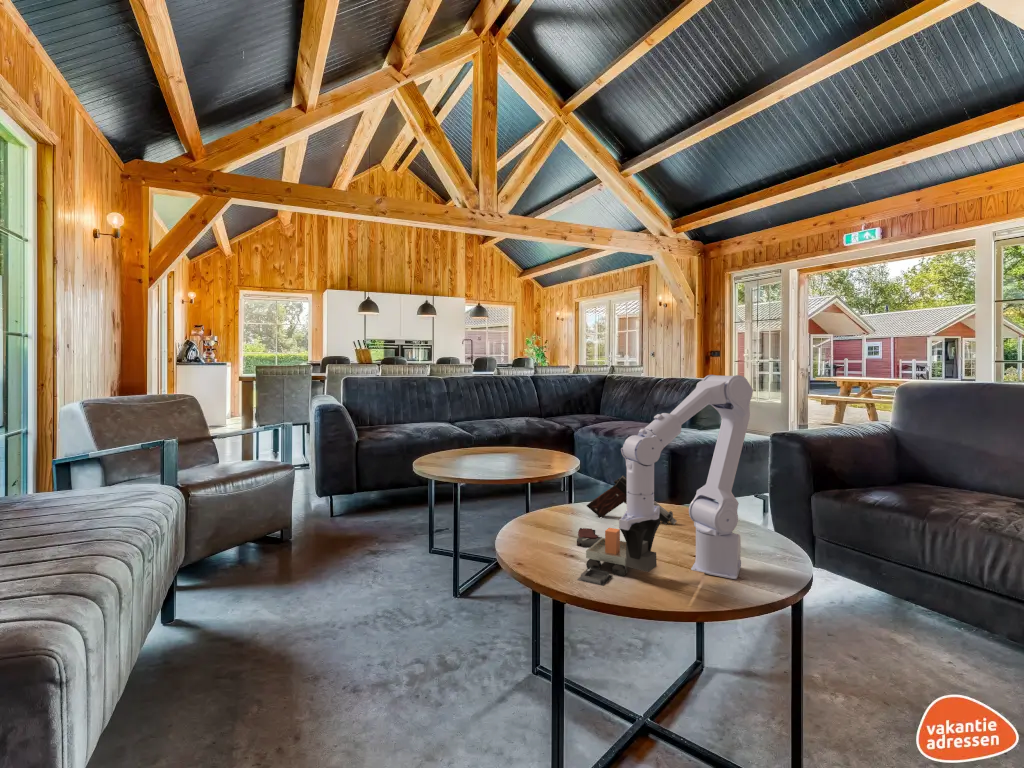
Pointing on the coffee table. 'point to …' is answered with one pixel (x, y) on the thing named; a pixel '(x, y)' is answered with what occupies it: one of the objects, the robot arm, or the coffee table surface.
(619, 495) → the handgun
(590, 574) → the socket
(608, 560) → the trolley
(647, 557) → the block
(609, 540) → the orange rectangular block
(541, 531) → the coffee table surface
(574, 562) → the coffee table surface
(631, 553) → the robot arm
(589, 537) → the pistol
